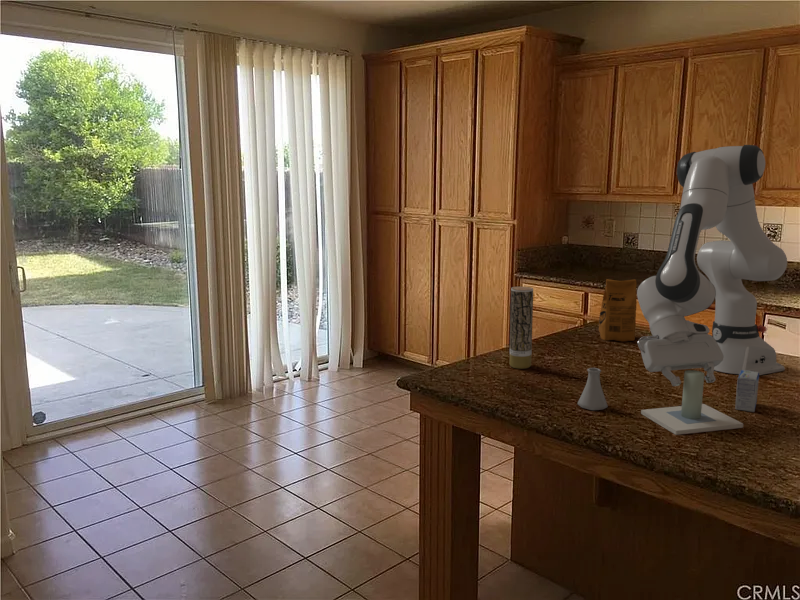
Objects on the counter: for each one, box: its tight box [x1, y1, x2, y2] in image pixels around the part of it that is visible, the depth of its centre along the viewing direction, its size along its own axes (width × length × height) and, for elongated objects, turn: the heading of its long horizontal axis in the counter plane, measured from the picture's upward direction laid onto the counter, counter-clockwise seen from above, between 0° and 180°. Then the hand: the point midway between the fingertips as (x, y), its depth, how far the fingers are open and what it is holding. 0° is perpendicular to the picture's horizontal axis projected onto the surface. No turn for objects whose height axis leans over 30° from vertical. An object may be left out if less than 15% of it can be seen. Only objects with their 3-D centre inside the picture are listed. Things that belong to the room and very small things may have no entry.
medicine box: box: [734, 370, 760, 413], centre depth 167 cm, size 8×4×9 cm, turn 148°
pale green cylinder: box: [681, 369, 705, 419], centre depth 158 cm, size 4×4×11 cm
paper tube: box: [509, 286, 534, 370], centre depth 203 cm, size 7×7×25 cm
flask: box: [577, 367, 609, 411], centre depth 168 cm, size 7×7×10 cm
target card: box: [640, 403, 744, 436], centre depth 159 cm, size 18×14×1 cm
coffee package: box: [598, 278, 638, 342], centre depth 236 cm, size 10×12×22 cm
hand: (694, 383), depth 157 cm, fingers open, 8 cm apart
